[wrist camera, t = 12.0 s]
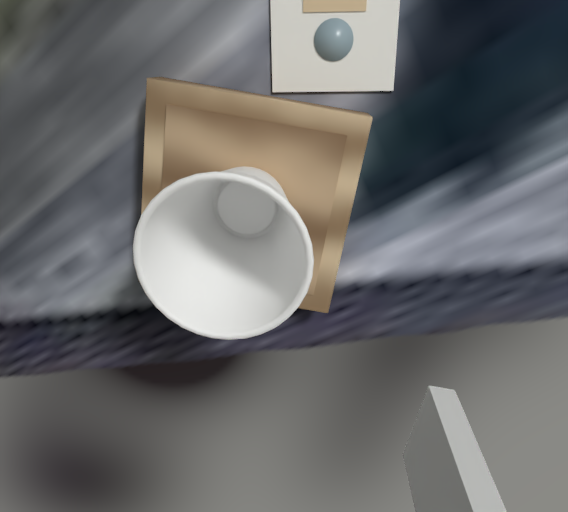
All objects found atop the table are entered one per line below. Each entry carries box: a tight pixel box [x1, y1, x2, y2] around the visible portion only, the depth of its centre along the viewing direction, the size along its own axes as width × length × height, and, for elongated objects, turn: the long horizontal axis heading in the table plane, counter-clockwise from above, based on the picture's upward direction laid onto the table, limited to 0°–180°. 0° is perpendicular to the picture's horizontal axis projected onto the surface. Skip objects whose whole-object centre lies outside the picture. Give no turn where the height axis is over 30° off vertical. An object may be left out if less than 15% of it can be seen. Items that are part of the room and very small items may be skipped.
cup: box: [133, 166, 314, 340], centre depth 30 cm, size 10×10×11 cm
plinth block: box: [139, 77, 373, 313], centre depth 37 cm, size 16×16×3 cm
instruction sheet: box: [270, 0, 400, 92], centre depth 32 cm, size 12×9×1 cm
